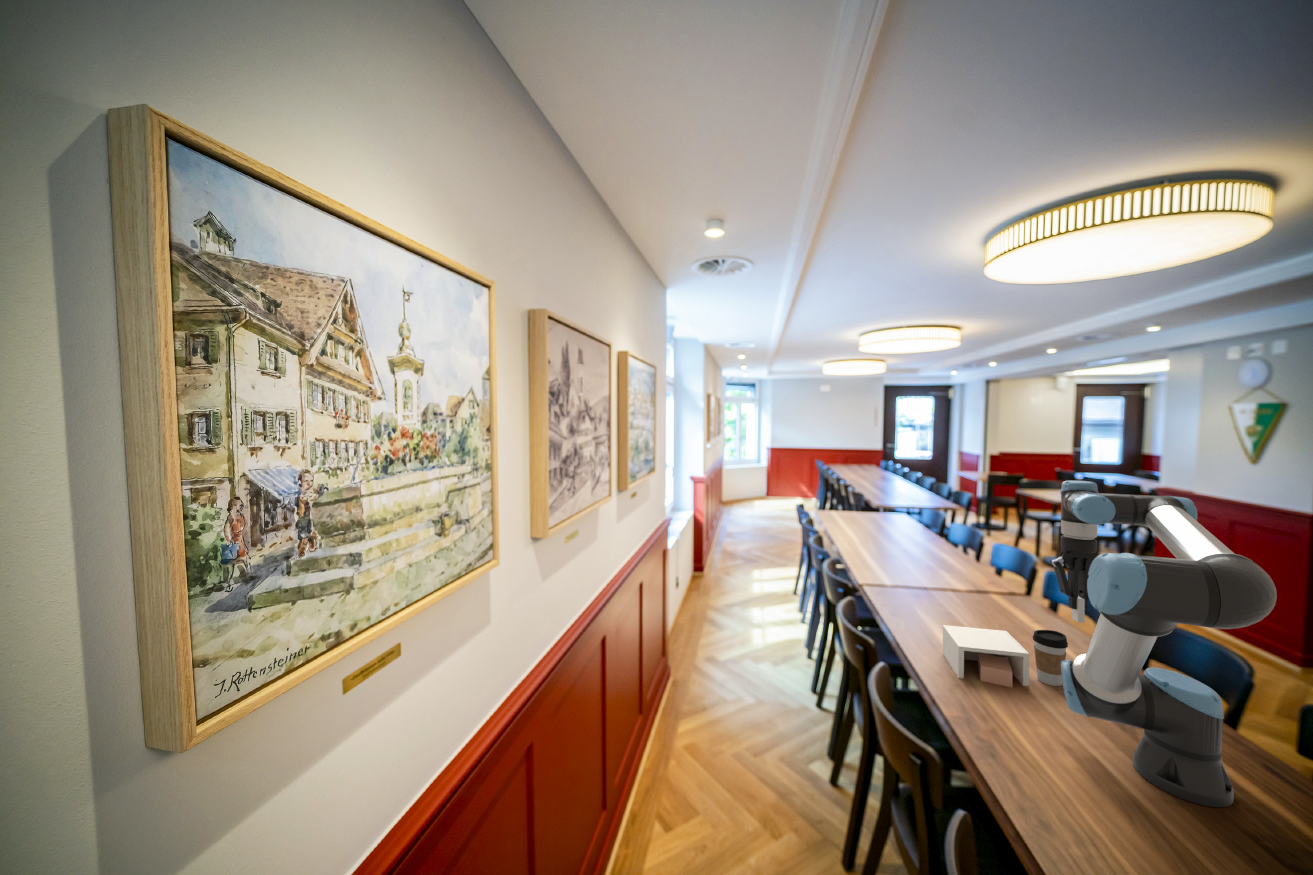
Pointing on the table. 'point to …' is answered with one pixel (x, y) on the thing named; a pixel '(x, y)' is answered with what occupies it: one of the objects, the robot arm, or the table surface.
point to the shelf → (984, 649)
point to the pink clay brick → (995, 669)
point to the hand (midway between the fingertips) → (1077, 620)
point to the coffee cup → (1049, 655)
